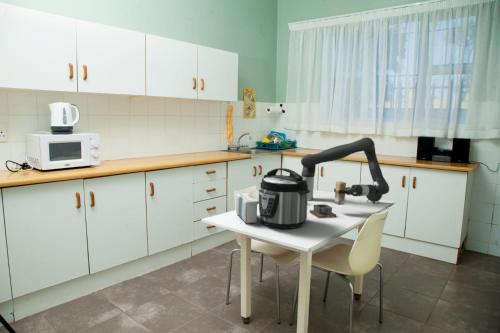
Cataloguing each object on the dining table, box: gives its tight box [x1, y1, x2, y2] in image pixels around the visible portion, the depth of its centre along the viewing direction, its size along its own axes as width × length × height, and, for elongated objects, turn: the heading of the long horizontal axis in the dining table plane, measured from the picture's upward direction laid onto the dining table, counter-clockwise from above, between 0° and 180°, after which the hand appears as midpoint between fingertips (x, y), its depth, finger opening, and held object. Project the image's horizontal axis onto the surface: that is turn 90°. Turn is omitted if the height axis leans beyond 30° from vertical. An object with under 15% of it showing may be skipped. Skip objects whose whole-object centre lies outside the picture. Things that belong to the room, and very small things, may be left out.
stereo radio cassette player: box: [235, 188, 259, 224], centre depth 210 cm, size 21×8×20 cm, turn 17°
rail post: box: [334, 181, 347, 206], centre depth 226 cm, size 4×4×14 cm
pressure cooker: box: [258, 167, 310, 229], centre depth 203 cm, size 30×28×32 cm
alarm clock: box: [365, 182, 383, 204], centre depth 257 cm, size 11×5×16 cm, turn 84°
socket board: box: [309, 203, 337, 219], centre depth 224 cm, size 12×12×6 cm
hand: (336, 191), depth 225 cm, fingers closed on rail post, 4 cm apart
